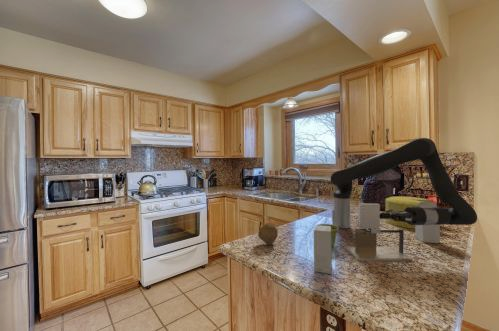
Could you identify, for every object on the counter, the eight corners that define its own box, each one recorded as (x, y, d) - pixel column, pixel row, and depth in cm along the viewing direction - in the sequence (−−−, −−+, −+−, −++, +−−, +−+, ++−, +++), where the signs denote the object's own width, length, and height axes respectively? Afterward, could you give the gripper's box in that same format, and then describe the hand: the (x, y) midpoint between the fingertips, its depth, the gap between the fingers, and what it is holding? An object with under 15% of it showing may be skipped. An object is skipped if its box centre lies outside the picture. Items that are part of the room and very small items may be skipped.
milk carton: (439, 243, 107) (440, 203, 106) (422, 242, 108) (423, 203, 108) (430, 238, 114) (431, 200, 113) (415, 237, 115) (415, 200, 115)
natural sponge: (255, 246, 103) (255, 224, 103) (261, 240, 111) (261, 220, 111) (275, 249, 100) (275, 227, 99) (279, 242, 108) (279, 221, 108)
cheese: (448, 229, 129) (449, 203, 128) (402, 229, 129) (402, 203, 129) (415, 217, 155) (415, 195, 154) (377, 217, 155) (377, 195, 155)
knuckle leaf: (360, 233, 93) (361, 204, 92) (357, 231, 96) (357, 203, 95) (380, 233, 93) (380, 204, 92) (376, 231, 95) (376, 203, 95)
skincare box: (331, 274, 78) (331, 232, 77) (313, 271, 80) (313, 230, 80) (331, 264, 86) (332, 225, 85) (315, 261, 88) (315, 223, 87)
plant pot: (337, 243, 107) (338, 225, 107) (338, 250, 98) (339, 230, 98) (317, 240, 110) (317, 223, 110) (316, 247, 101) (316, 228, 101)
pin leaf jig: (358, 260, 88) (359, 233, 88) (345, 248, 100) (346, 224, 100) (412, 261, 88) (413, 233, 88) (393, 248, 100) (393, 224, 100)
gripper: (433, 229, 87) (388, 229, 87) (409, 220, 100) (370, 220, 100) (433, 210, 87) (388, 210, 87) (409, 203, 100) (370, 203, 100)
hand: (378, 215), depth 94 cm, fingers closed
